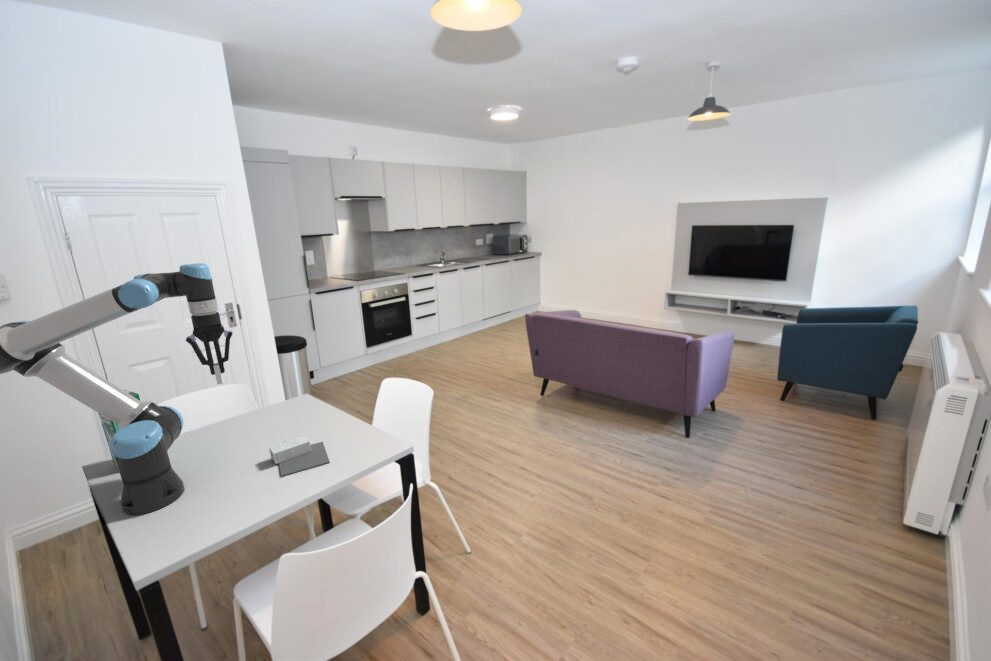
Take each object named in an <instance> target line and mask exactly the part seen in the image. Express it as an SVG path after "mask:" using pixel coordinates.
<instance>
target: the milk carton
mask: <svg viewBox="0 0 991 661" xmlns="http://www.w3.org/2000/svg"><path fill="white" fill-rule="evenodd" d="M123 390H124V391H125V392H127V393H129V394H130V395H132V396H133V397H135V398H136V399H138V400H140V401H141V398H140V397H141V396H140V395H139V393H137V392H134V391H130V390H127V389H123ZM97 415H98V418H99V420H100V424H101V427H102V430H103V433H104V436H105V438H106V439H105V440H106V442H107V446H108V449H109V454H110V456H111V459H112V463H113V465H115V466H116V467H118V466H117V463H116V460H115V457H114V454H113V452H112V445H111V439H112V437H113V435H114V434H115V433H116V432H117V431H118V430H119V426H118V424H116V423H115V422H113V421H111V420H110V419H108V418H106V417H105V416H103V415H101V414H100V413H98V412H97Z"/></svg>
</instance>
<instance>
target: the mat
mask: <svg viewBox="0 0 991 661" xmlns="http://www.w3.org/2000/svg"><path fill="white" fill-rule="evenodd" d="M310 446H311V452H308V453H305V454H303V455H300V456H297V457H294V458H292V459H289V460H286V461H283V462H281V463H278V464H279V470H280V477H281V478H284V477H286V476H290V475H294V474H297V473H300V472H303V471H308V470H310V469H315V468H317V467H321V466H323V465H328V464H330V463H331V462H330V459H329V456H328V454H327V451H326V447H325V445H324V442H323V441H320V442H315V443H313V444H311V443H310Z"/></svg>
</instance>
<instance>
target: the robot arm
mask: <svg viewBox="0 0 991 661" xmlns="http://www.w3.org/2000/svg"><path fill="white" fill-rule="evenodd" d="M213 284H214V283H213V277H212V275H211V271H210V268H209V266H208V264H206V263H200V262H199V263H189V264H188V263H187V264H182V265H179V271H175V272H159V273H158V272H157V273H149V272H148V273H144V274H137V275H135V276H134V277H133V279H131V280H129V281H126V282H125V283H124V284H120V285H118V286H116V287H113V288H111V289H107V290H105V291H103V292H101V293H98V294H95V295H93V296H91V297H88V298H86V299H85V298H84V299H83V300H80V301H78V302H75V303H73V304H70V305H68V306H65V307H62V308H60V309H58V310H56V311H53V312H50V313H48V314H45V315H43V316H40V317H38V318H35V319H32V320H21V321H14V322H13V321H12V322H9V323H5V324H1V325H0V375H1V374H5V373H6V374H7V373H8V372H12V371H14V372H16V373H18V374H20V375H22V376H23V377H26V378H29V377H31V378H32V377H37V378H39V379H41V380H42V381H43V382H45V383H47V384H49V385H51V387H52V386H53V387H55V388H56V389H58V390H59V391H61V392H63V393H64V394H66V395H67V396H69V397H71V398H72V399H73V400H74V399H75V400H76V401H78V402H79V403H81V404H82V405H84V406H87V408H90V409H91V410H92V411H94V412H96V413H97V414H98V413H100V414H101V415H103V416H105V417H106V418H108V419H110V420H111V421H113V422H115V423H116V424H118V426H119V430H118V431H117V432H116V433H115V434H114V435H113V437H112V439H111V445H112V452H113V454H114V457H115V460H116V463H117V466H116V467H117V469H118V473H119V475H120V479H121V481H122V492H121V500H120V506H121V508H122V509H121V510H122V511H123V513H124V514H126V515H130V516H137V515H138V516H139V515H143V514H149V513H151V512H155V511H158V510H160V509H162V508H165V507H167V506H169V505H171V504H172V503H174V502H175V501H176V500H178V499H179V498H181V496H182V495H183V494H184V493H185V485H184V482H183V480H182V478H181V477H180V476H179V475H178V474H177V473H176V471H175V470H174V468H173V467H172V464H171V461H170V456H169V453H168V451H169V449H170V448H171V446H173V444H174V442H175V441H176V440H177V439H178V438H179V436H180V434H181V433H182V430H183V428H184V419H183V416H182V413H181V412H180V411H179V410H177V409H176V408H174V407H172V406H170V405H169V406H168V405H158V404H157V403H155V402H153V401H141V399H140V400H138V399H136V398H135V397H133V396H132V395H130V394H129V393H127V392H125V391H124V390H125V389H122V388H120V387H118V386H117V385H116V384H114V383H113V382H111V381H110V380H108V379H107V378H105V377H103V376H101V375H100V374H98V373H96V372H95V371H93V370H92V369H90V368H88V367H87V366H85V365H84V364H82V363H80V362H79V361H78V360H76V359H74V358H73V357H71V356H69V355H68V354H67V353H66V348H65V346H64V345H63V344H62V343H61V342H64V341H67V340H69V339H71V338H74V337H75V336H76V337H77V336H79V335H81V334H83V333H86V332H88V331H91V330H93V329H95V328H98V327H101V326H103V325H105V324H108V323H110V322H112V321H115V320H117V319H120V318H121V317H124V316H127V315H129V314H131V313H134V312H136V311H139V310H141V309H145V308H146V309H147V308H148V307H150V306H152V305H154V304H155V303H157V302H160V301H162V300H164V299H168V298H177V297H185V298H186V300H187V306H188V310H189V314H191V317H190V319H191V323H192V327H193V329H192V334H191V335H190V336H189V335H188V336H187V337H186V338H185V342H187V343H188V345H190V346H191V348H192V349H193V351H194V353H195V355H196V357H197V358H198V360H199V362H200V364H201V365H203V366H208V367H209V370H210V374H211V376H214V375H215V379H216V383H217V385H222V384H223V383H224V379H223V374H224V373H225V370H226V369H225V365H224V363H225V362H227V361H229V358H230V346H231V345H230V343H231V338H232V336H233V333H234V331H232V330H228V329H225V327H224V325H223V324H222V321H221V320H222V319H221V315H220V313H219V312H218V310H219V306H218V301H217V297H216V294H215V289H214V285H213ZM222 335H224V337H225V343H224V356H223V355H222V350H221V346H220V342H219V341H220V339H221V336H222ZM197 339H198V340H199V341H200V342H202V343H203V346H204V350H205V353H206V354H205V355H206V357H205V356H204V354H203V351H202V350H201V348H200V347H199V345H198V343H197V342H196V341H197ZM210 342H211V343H213V347H214V351H215V355H216V360H217V362H216V363H214V362H215V361H214V358H213V357H214V356H213V353H212V349H211V348H212V347H211V345H210Z"/></svg>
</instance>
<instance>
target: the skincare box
mask: <svg viewBox="0 0 991 661" xmlns="http://www.w3.org/2000/svg"><path fill="white" fill-rule="evenodd" d="M310 445H311V442H310V440H309V439H308V438H307V437H306V436H305V435H302V436H299V437H296V438H293V439H290V440H287V441H284V442H281V443H278V444H275V445H272V446H269V447H268V448H269V453H270V458H271V459H272V460H273V462H274V464H275V465H277V464H279V463H281V462H283V461H286V460H289V459H292V458H294V457H297V456H300V455H303V454H305V453H308V452H311V446H310Z"/></svg>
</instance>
